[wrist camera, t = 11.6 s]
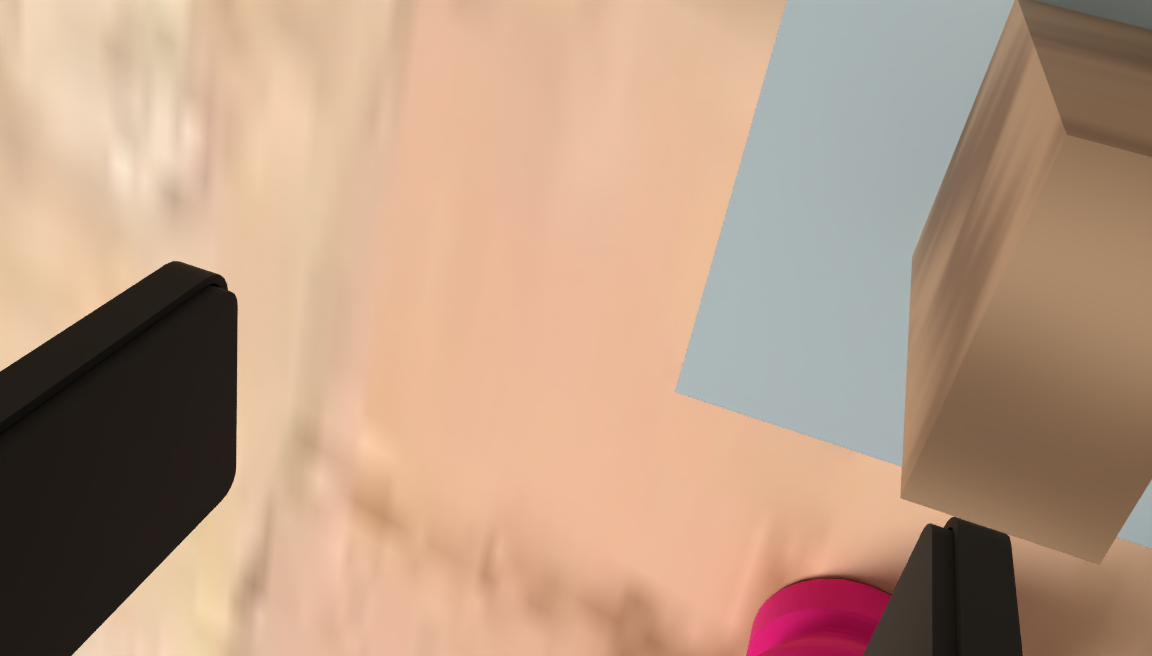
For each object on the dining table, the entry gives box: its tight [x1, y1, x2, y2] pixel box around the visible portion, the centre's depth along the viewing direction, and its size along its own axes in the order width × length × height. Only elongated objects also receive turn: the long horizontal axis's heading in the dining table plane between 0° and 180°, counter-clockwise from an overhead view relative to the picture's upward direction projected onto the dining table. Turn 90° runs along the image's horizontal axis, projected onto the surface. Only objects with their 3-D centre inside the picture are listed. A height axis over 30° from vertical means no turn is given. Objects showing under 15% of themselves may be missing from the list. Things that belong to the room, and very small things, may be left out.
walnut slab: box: [900, 0, 1152, 564], centre depth 21 cm, size 7×4×11 cm, turn 169°
